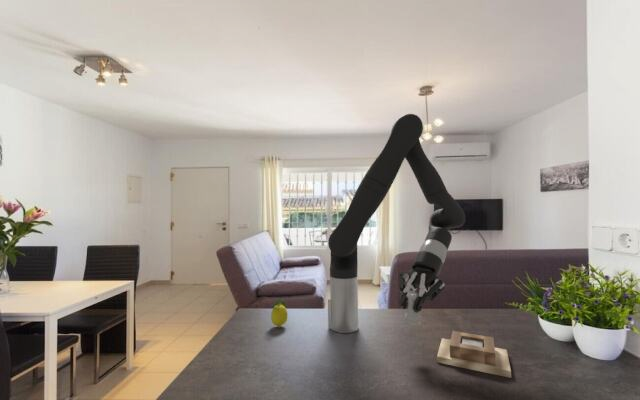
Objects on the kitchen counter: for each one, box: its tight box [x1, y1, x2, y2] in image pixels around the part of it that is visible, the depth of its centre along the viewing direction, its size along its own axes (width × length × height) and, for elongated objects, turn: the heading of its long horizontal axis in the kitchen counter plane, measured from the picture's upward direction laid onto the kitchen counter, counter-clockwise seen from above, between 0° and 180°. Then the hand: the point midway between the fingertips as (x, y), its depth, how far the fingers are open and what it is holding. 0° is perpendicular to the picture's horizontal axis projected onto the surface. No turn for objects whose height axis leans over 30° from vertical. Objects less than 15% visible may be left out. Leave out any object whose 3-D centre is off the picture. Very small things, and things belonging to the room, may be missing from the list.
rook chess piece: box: [403, 291, 422, 326], centre depth 81 cm, size 4×4×8 cm
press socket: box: [436, 330, 512, 379], centre depth 77 cm, size 16×12×4 cm
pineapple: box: [270, 299, 288, 328], centre depth 100 cm, size 7×6×10 cm
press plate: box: [462, 338, 483, 347], centre depth 77 cm, size 5×5×1 cm
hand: (408, 308), depth 80 cm, fingers closed on rook chess piece, 3 cm apart
